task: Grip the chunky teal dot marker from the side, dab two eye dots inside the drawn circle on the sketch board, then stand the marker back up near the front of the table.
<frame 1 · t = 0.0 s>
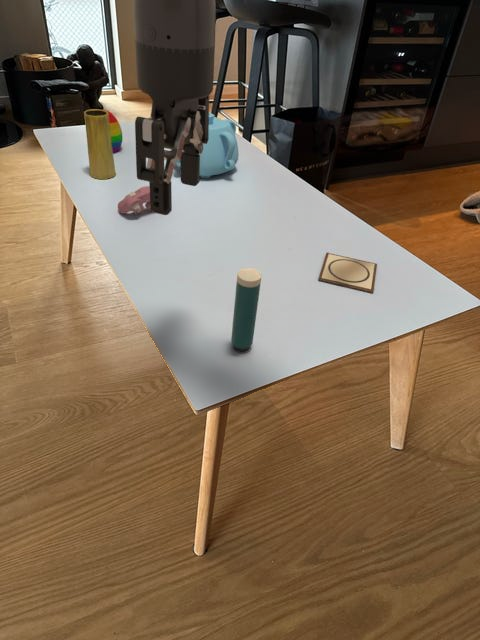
hand: (176, 197, 54), 23 cm above the table, tool pointing down, fingers open, 8 cm apart
dot marker: (241, 346, 70), on the table
decorative pot: (205, 169, 120), on the table
vase: (103, 175, 113), on the table
video game controller: (143, 211, 100), on the table
sketch board: (348, 272, 88), on the table
decorative egg: (107, 150, 125), on the table
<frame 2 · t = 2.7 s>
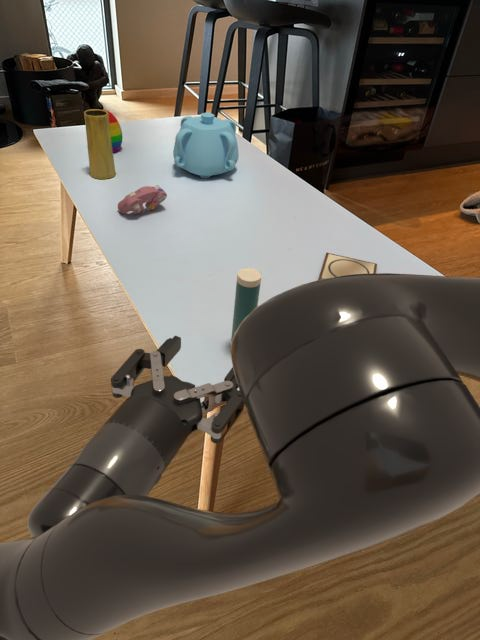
hand: (208, 353, 57), 8 cm above the table, tool horizontal, fingers open, 8 cm apart
nothing on the table moved.
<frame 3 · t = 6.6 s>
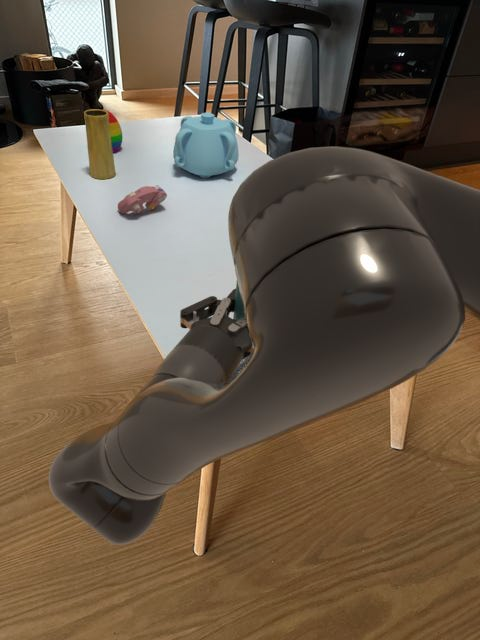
hand: (253, 296, 67), 7 cm above the table, tool horizontal, fingers closed on dot marker, 3 cm apart
dot marker: (241, 346, 70), on the table, touching gripper
everything else where it was.
when the fingers open (7 cm above the table, at t = 23.2 s): dot marker stays where it is, on the table.
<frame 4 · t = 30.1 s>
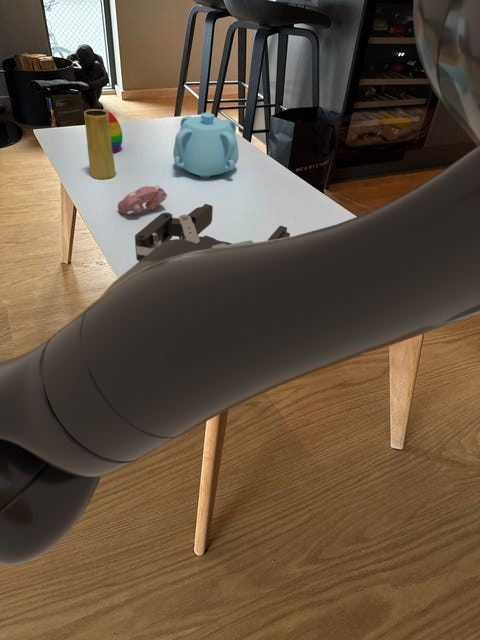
hand: (245, 223, 49), 24 cm above the table, tool horizontal, fingers open, 8 cm apart
dot marker: (260, 333, 72), on the table
everything else where it was.
at the end: dot marker inside the target area on the table beside the sketch board (0.1 cm from its centre), on the table; dot marker tilted 0°; the gripper is holding nothing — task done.
